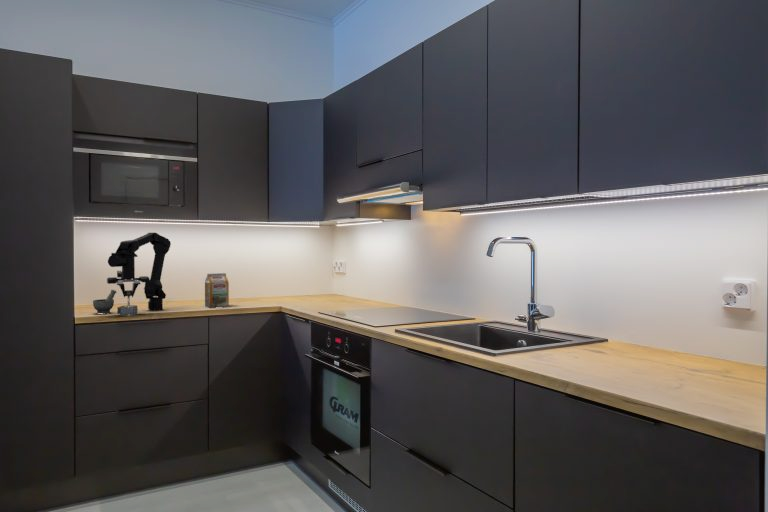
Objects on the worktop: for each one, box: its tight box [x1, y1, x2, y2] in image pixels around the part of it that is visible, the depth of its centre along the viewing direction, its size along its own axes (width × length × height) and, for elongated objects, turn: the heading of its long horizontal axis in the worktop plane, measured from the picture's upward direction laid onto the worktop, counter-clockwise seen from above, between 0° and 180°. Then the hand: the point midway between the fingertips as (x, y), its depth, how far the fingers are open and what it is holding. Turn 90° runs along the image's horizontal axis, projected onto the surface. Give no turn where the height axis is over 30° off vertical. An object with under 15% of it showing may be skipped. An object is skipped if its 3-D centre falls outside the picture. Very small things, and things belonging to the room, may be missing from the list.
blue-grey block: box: [116, 304, 139, 317], centre depth 261 cm, size 9×8×4 cm
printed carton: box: [204, 272, 230, 309], centre depth 296 cm, size 11×11×19 cm
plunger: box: [123, 289, 133, 307], centre depth 261 cm, size 5×5×9 cm
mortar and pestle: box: [92, 289, 117, 314], centre depth 267 cm, size 11×9×12 cm
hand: (128, 297), depth 261 cm, fingers closed on plunger, 3 cm apart
